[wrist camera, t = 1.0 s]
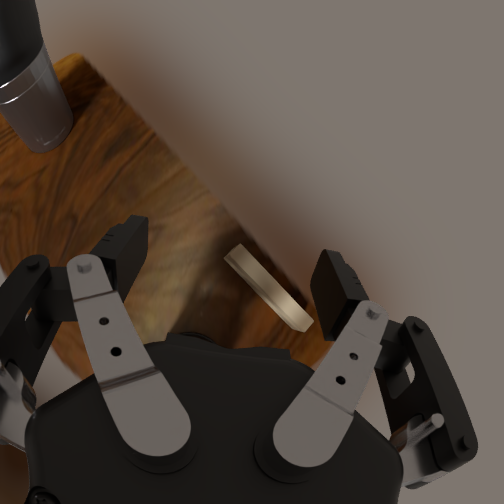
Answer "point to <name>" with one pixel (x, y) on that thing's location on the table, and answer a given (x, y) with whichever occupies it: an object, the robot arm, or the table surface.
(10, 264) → the table surface
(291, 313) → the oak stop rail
